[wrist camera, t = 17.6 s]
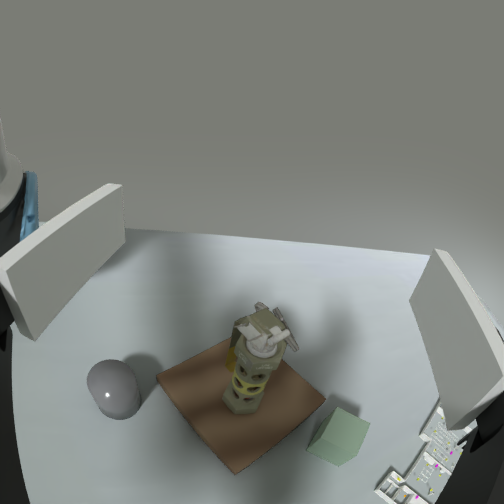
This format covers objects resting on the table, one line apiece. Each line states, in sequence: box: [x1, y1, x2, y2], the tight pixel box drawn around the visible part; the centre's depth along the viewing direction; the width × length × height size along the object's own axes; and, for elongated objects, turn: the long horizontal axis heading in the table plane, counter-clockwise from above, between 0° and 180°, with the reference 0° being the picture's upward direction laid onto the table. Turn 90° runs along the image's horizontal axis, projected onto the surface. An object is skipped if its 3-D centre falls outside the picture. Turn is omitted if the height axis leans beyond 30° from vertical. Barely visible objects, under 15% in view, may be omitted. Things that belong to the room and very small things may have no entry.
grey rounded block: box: [87, 360, 141, 420], centre depth 30 cm, size 6×6×5 cm
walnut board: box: [156, 337, 326, 475], centre depth 36 cm, size 16×16×2 cm
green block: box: [306, 407, 370, 467], centre depth 30 cm, size 5×5×5 cm
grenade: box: [222, 302, 299, 414], centre depth 31 cm, size 7×7×15 cm
